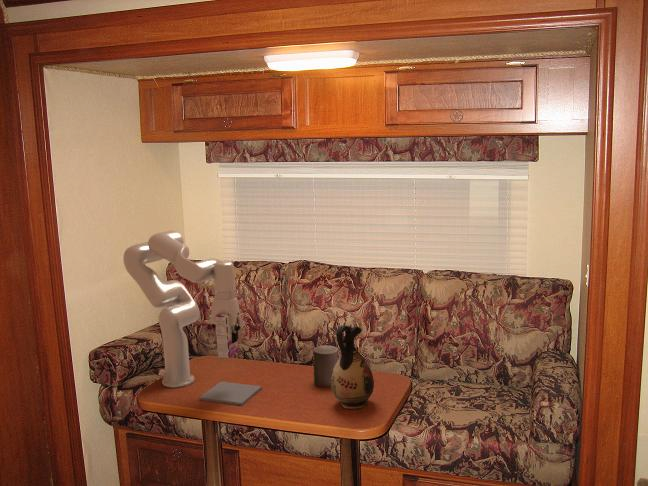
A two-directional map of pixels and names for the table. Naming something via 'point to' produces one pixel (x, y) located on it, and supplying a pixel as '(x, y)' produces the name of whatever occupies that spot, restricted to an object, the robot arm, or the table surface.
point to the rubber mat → (230, 393)
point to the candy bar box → (224, 337)
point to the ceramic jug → (351, 372)
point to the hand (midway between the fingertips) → (227, 340)
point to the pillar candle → (324, 364)
